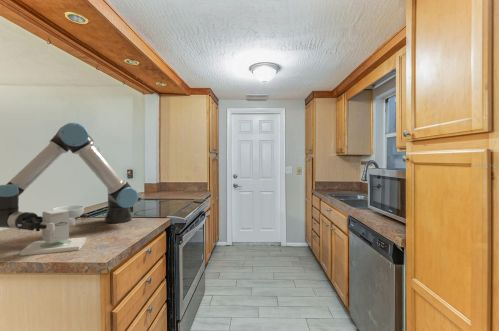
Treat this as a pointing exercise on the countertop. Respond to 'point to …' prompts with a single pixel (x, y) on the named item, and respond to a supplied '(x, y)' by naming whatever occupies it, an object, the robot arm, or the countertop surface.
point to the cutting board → (53, 246)
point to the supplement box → (56, 225)
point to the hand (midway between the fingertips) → (64, 224)
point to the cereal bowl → (72, 210)
